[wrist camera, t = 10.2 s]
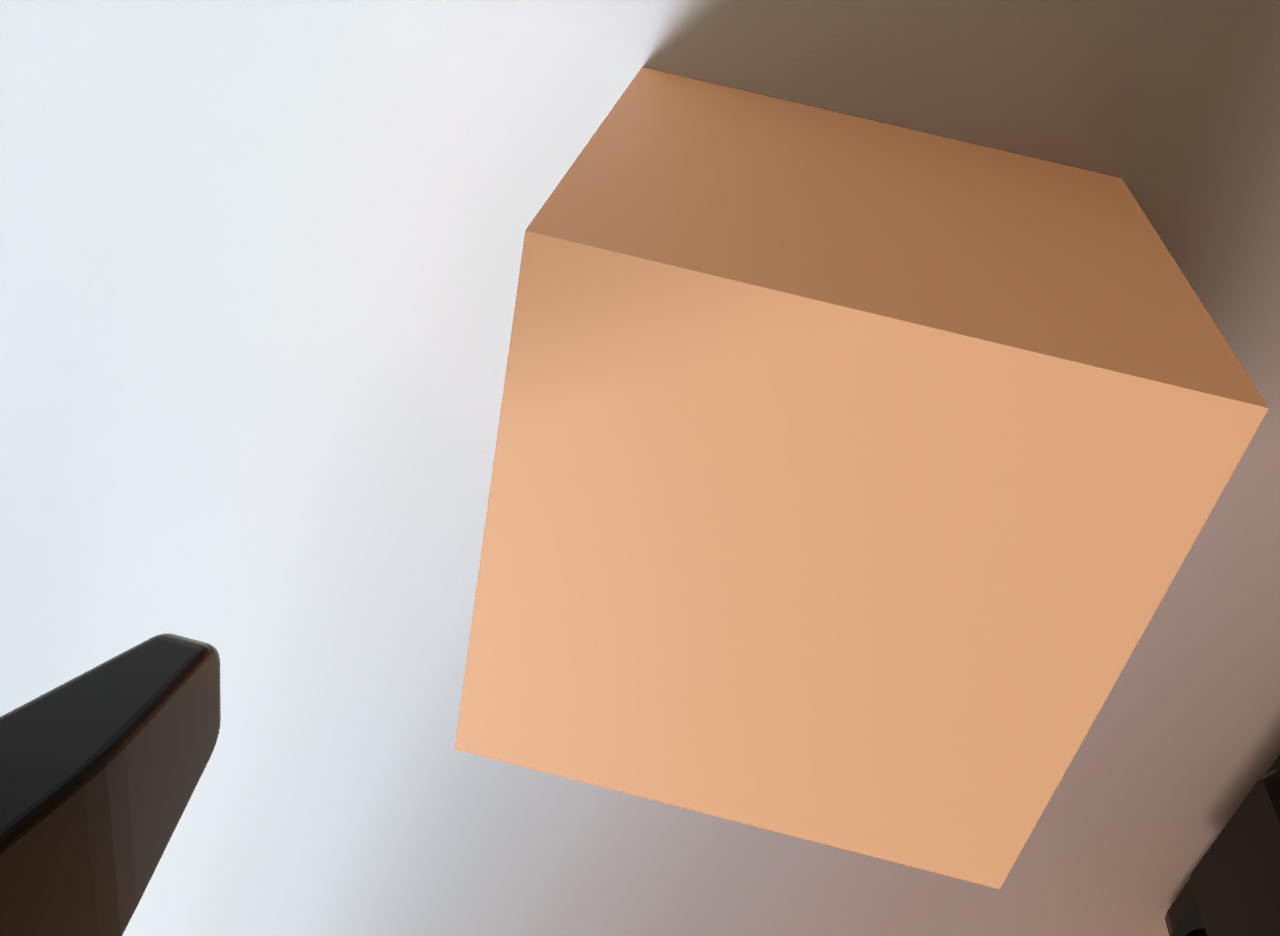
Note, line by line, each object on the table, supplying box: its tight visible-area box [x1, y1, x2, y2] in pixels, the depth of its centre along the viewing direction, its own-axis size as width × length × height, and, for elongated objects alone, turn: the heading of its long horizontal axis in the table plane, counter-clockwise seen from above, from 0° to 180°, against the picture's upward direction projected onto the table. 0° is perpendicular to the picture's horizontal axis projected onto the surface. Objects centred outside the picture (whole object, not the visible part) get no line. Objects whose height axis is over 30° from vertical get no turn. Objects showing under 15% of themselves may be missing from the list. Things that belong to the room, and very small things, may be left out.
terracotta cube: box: [455, 67, 1269, 889], centre depth 13 cm, size 6×6×6 cm
